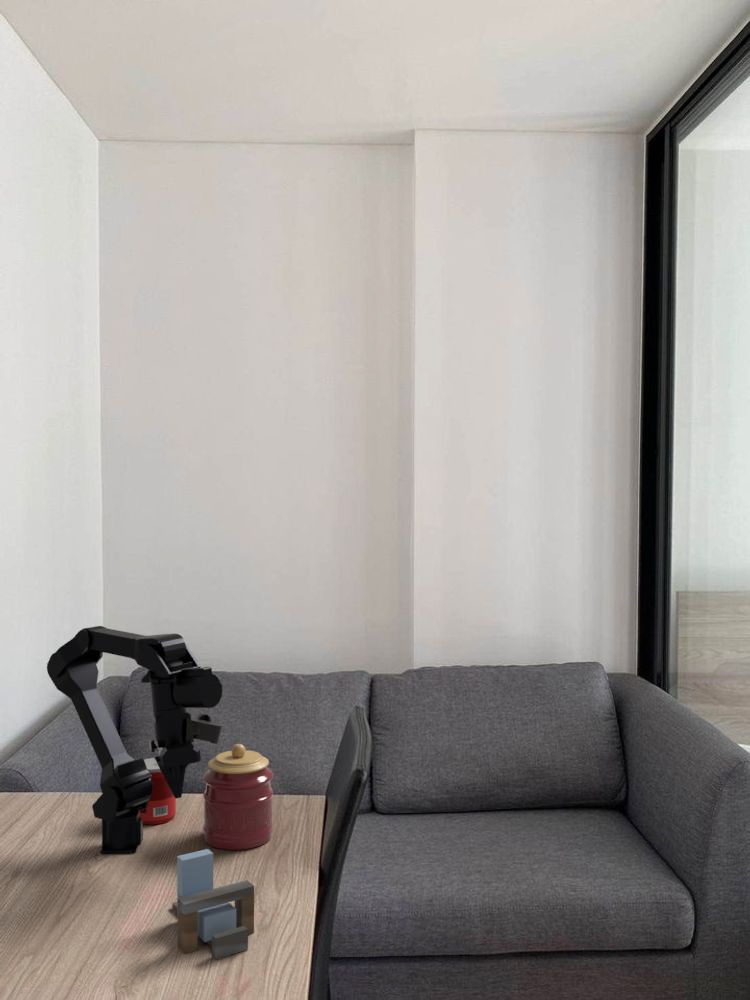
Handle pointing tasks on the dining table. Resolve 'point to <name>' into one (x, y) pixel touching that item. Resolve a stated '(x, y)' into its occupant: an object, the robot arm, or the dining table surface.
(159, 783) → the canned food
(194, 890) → the light blue l-shaped block
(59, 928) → the dining table surface
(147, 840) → the dining table surface
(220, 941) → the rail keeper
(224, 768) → the canister
